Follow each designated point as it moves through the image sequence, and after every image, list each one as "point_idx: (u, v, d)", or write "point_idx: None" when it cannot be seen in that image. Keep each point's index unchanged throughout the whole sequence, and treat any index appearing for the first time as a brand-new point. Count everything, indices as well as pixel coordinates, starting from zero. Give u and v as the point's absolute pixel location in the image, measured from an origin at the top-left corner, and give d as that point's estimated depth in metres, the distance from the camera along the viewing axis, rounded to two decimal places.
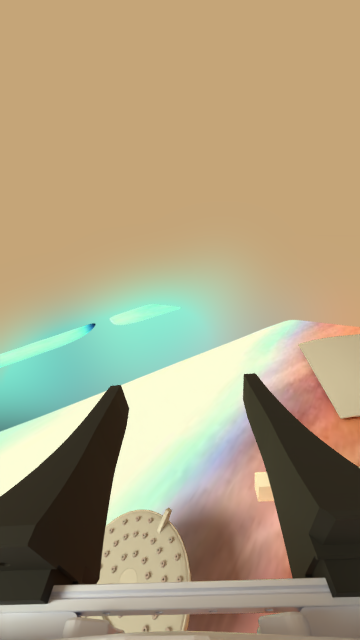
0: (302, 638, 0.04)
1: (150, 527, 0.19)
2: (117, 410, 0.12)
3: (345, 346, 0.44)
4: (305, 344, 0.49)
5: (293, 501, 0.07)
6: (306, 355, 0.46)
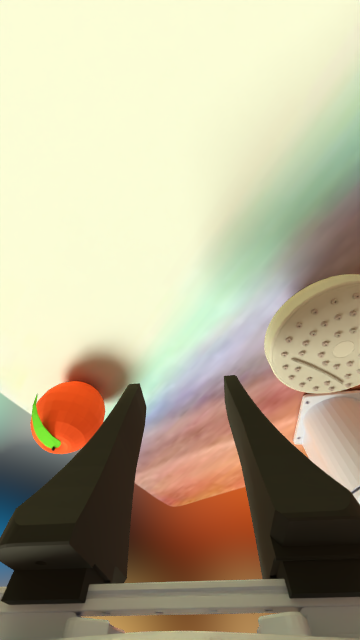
0: (302, 639, 0.04)
1: None
2: (137, 408, 0.12)
3: None
4: None
5: (259, 503, 0.07)
6: None
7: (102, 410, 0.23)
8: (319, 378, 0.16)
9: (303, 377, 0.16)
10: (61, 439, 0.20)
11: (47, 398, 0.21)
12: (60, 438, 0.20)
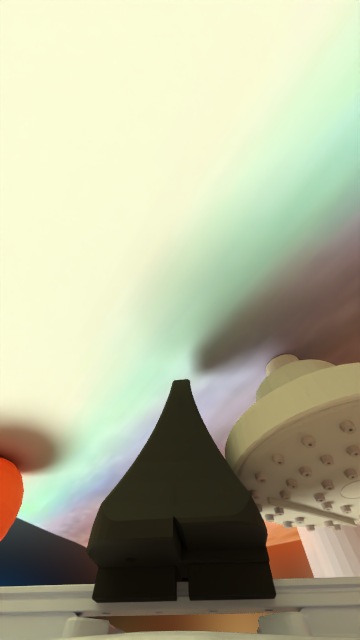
0: (302, 638, 0.04)
1: None
2: None
3: None
4: None
5: None
6: None
7: (11, 503, 0.16)
8: (316, 518, 0.09)
9: (290, 517, 0.09)
10: None
11: None
12: None
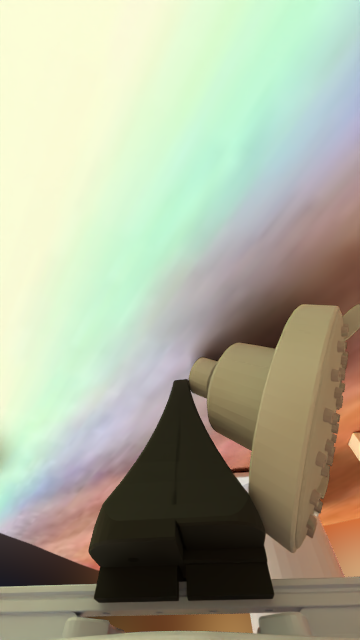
0: (302, 639, 0.04)
1: (343, 338, 0.09)
2: None
3: None
4: None
5: None
6: None
7: None
8: None
9: None
10: None
11: None
12: None
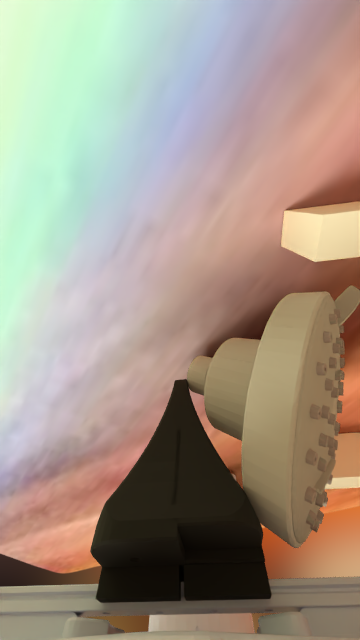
0: (302, 638, 0.04)
1: (336, 324, 0.09)
2: None
3: None
4: None
5: None
6: None
7: None
8: None
9: None
10: None
11: None
12: None
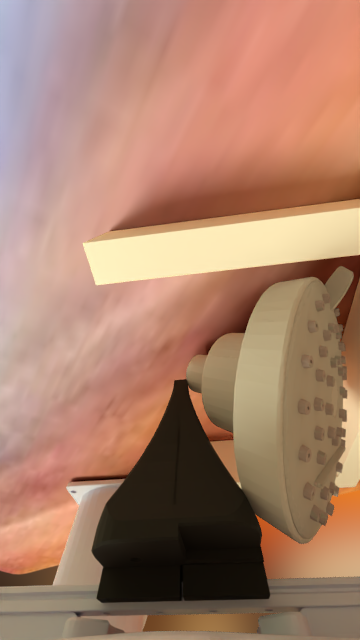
0: (303, 639, 0.04)
1: (327, 309, 0.08)
2: None
3: None
4: None
5: None
6: None
7: None
8: (334, 469, 0.08)
9: None
10: None
11: None
12: None
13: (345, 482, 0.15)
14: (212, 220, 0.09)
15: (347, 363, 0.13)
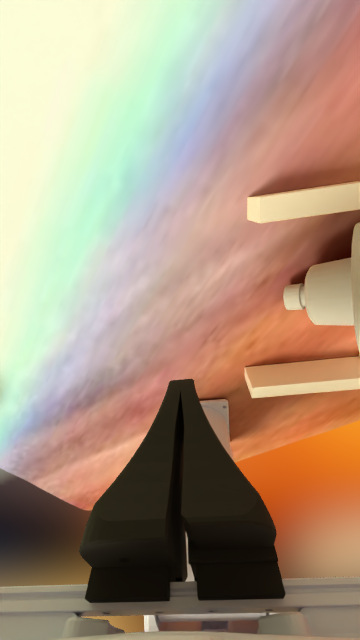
0: (302, 638, 0.04)
1: None
2: (182, 405, 0.12)
3: None
4: None
5: None
6: None
7: None
8: None
9: None
10: None
11: None
12: None
13: None
14: (320, 187, 0.15)
15: None
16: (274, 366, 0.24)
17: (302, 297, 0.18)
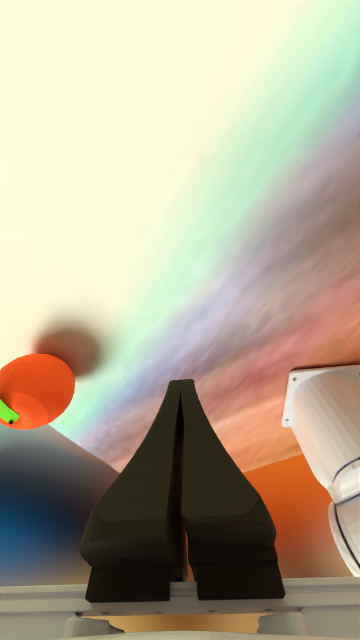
0: (302, 638, 0.04)
1: None
2: (182, 405, 0.12)
3: None
4: None
5: None
6: None
7: (70, 384, 0.21)
8: None
9: None
10: (19, 411, 0.18)
11: (6, 368, 0.19)
12: (18, 410, 0.18)
13: None
14: None
15: None
16: None
17: None
